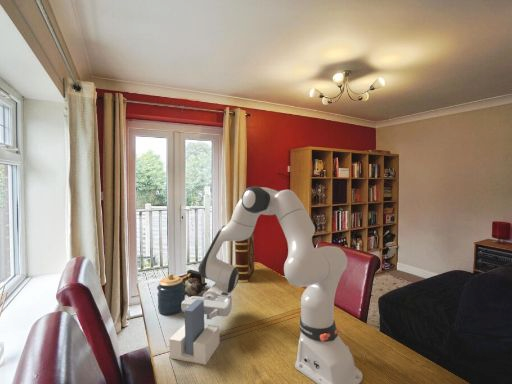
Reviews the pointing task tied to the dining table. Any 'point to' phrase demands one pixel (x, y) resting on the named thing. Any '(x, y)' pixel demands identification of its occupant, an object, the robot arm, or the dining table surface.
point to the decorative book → (245, 258)
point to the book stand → (195, 345)
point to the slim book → (193, 324)
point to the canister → (170, 295)
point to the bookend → (193, 282)
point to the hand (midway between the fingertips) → (197, 315)
